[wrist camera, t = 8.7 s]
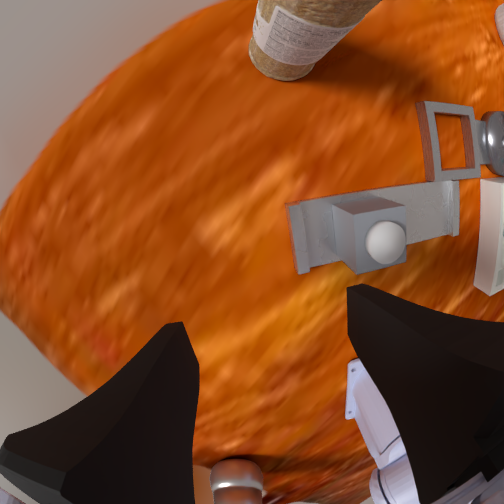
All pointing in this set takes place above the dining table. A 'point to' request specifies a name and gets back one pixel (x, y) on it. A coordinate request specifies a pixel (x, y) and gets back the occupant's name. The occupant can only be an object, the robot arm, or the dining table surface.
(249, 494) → the plastic bottle
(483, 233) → the tray
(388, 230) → the carriage
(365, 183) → the dining table surface
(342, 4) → the sprinkles bottle
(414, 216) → the rail
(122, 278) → the dining table surface
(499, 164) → the block
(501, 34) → the ramekin
